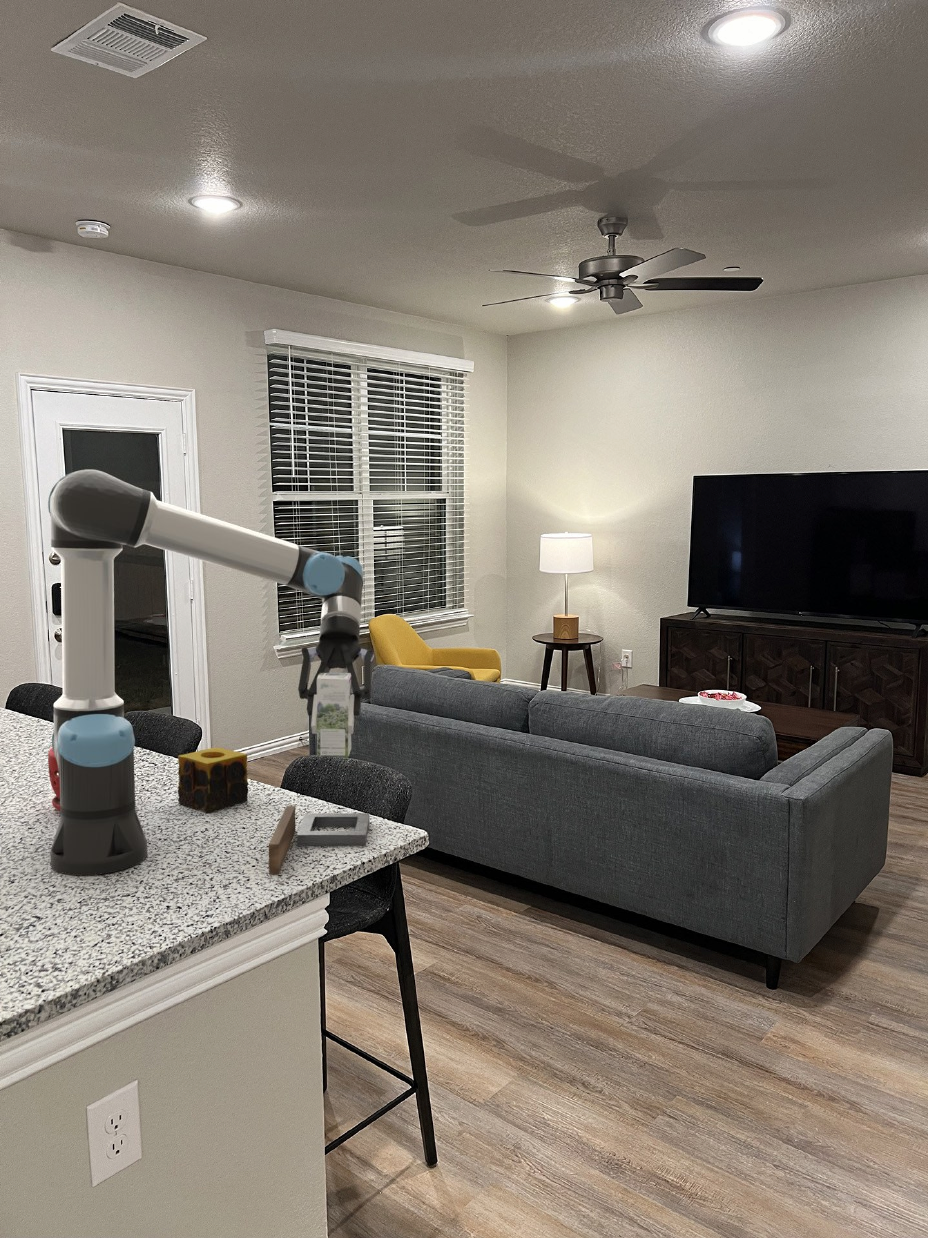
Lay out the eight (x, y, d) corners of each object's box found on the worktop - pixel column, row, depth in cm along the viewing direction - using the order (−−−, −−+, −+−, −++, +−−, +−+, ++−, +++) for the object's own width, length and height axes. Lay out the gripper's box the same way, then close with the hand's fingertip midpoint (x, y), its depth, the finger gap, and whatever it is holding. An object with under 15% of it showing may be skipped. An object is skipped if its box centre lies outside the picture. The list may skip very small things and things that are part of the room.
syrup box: (351, 749, 172) (351, 671, 170) (348, 758, 166) (348, 677, 165) (320, 749, 172) (320, 671, 170) (316, 758, 166) (315, 677, 164)
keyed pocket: (297, 846, 165) (296, 835, 164) (305, 823, 176) (305, 813, 176) (365, 845, 165) (365, 834, 165) (369, 823, 177) (369, 813, 177)
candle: (208, 814, 181) (207, 764, 180) (176, 804, 187) (175, 755, 186) (249, 802, 189) (249, 754, 188) (217, 793, 196) (217, 746, 194)
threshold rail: (268, 874, 152) (268, 844, 151) (286, 832, 171) (286, 806, 171) (278, 874, 152) (278, 844, 151) (295, 832, 171) (295, 806, 171)
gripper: (389, 638, 183) (386, 741, 168) (293, 637, 182) (281, 740, 167) (388, 613, 177) (384, 718, 162) (288, 613, 176) (276, 718, 161)
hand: (332, 729), depth 165 cm, fingers closed on syrup box, 6 cm apart
